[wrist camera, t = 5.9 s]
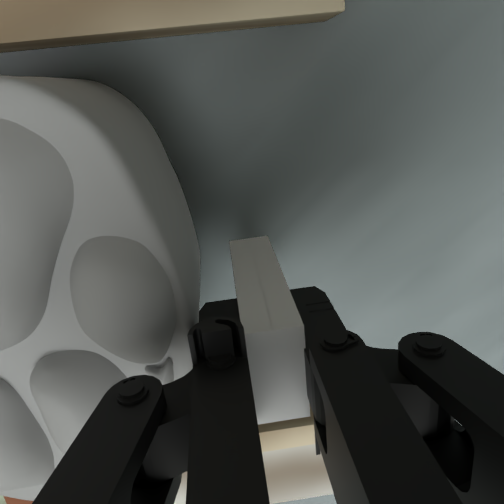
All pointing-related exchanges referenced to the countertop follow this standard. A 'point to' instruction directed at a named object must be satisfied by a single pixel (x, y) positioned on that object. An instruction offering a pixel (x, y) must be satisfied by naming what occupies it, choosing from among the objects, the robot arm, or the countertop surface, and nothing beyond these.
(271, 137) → the countertop surface
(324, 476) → the track
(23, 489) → the lumpy-topped squat cylinder
